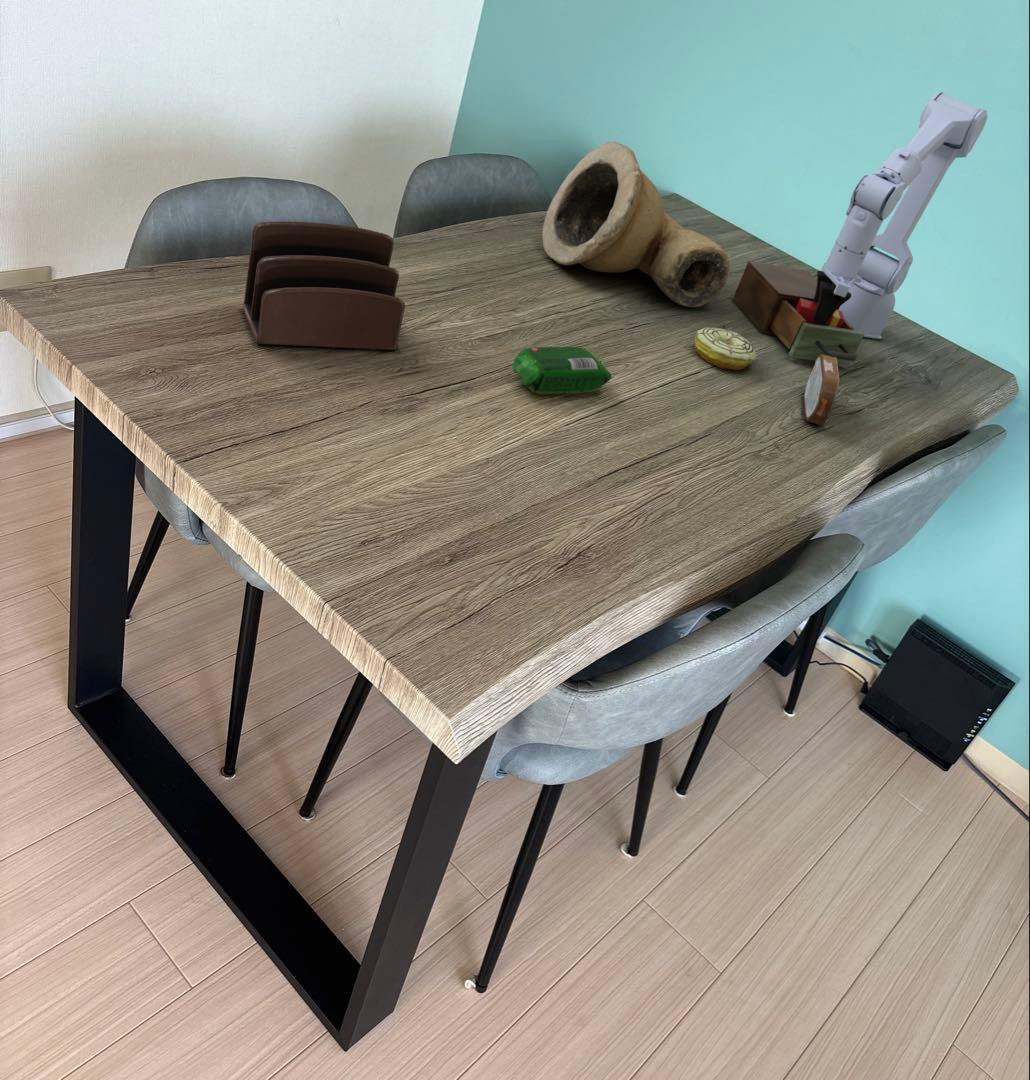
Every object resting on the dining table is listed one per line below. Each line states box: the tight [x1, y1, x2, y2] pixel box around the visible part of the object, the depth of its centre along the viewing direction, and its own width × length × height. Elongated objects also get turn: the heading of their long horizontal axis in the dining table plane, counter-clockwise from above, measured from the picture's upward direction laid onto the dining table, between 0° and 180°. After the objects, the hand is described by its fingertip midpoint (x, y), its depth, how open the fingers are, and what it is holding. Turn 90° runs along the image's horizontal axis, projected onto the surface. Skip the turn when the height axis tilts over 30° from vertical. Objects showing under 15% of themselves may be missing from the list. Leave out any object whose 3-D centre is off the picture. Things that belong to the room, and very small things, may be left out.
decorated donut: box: [694, 327, 757, 371], centre depth 173 cm, size 10×11×4 cm
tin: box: [803, 354, 840, 427], centre depth 164 cm, size 15×3×8 cm, turn 168°
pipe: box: [541, 141, 731, 308], centre depth 190 cm, size 23×29×30 cm
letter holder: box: [242, 220, 406, 352], centre depth 140 cm, size 10×20×14 cm, turn 113°
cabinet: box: [731, 260, 840, 337], centre depth 193 cm, size 14×14×8 cm
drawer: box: [769, 298, 864, 366], centre depth 183 cm, size 17×12×6 cm
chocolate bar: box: [795, 298, 844, 328], centre depth 184 cm, size 8×4×3 cm, turn 81°
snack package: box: [512, 346, 612, 396], centre depth 148 cm, size 7×16×5 cm, turn 118°
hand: (817, 318), depth 184 cm, fingers closed on chocolate bar, 4 cm apart
